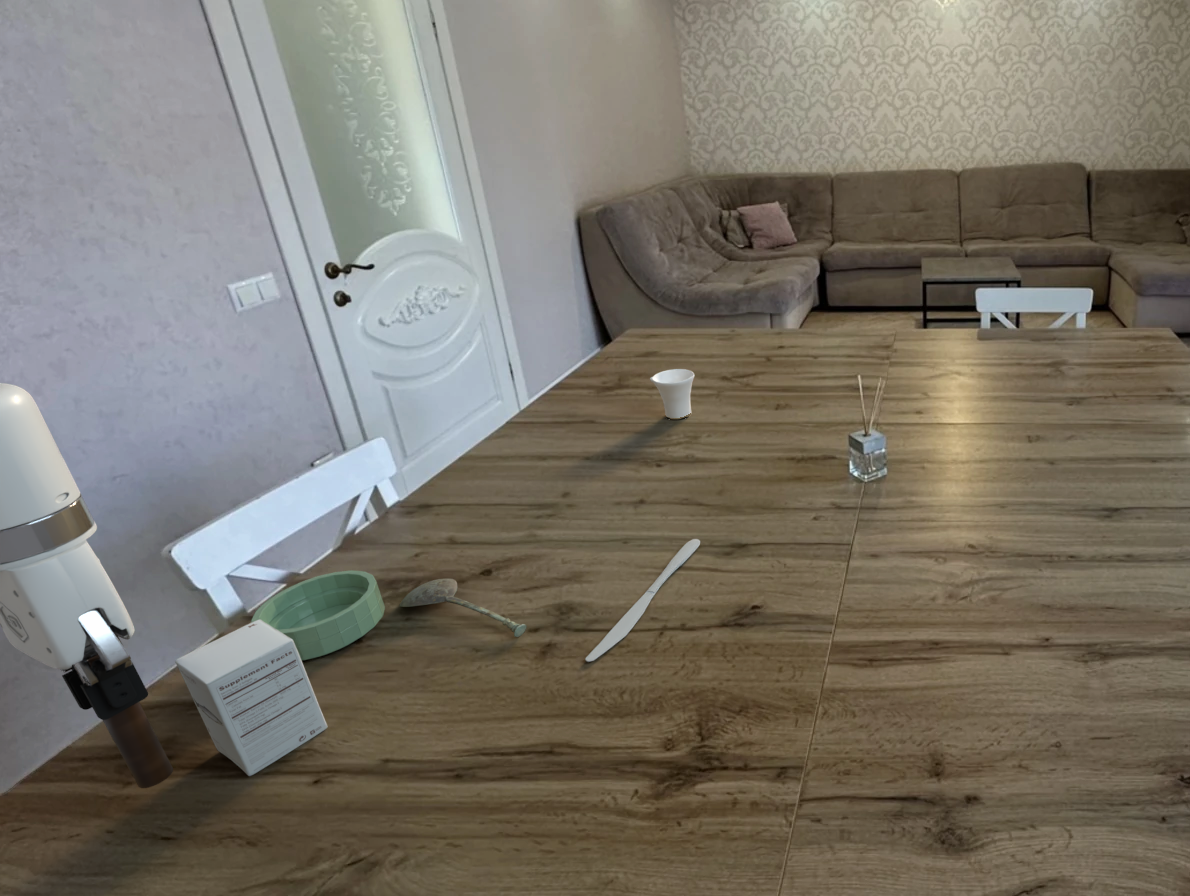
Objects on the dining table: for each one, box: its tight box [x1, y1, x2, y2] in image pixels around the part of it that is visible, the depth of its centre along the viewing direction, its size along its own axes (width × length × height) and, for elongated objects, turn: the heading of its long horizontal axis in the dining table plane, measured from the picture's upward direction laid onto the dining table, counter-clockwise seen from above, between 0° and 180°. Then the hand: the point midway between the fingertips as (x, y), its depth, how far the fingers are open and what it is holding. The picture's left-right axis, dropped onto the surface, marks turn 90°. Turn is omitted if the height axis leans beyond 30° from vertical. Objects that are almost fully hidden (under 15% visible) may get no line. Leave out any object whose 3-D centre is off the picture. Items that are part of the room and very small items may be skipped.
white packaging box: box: [174, 619, 328, 777], centre depth 76 cm, size 7×7×13 cm
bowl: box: [250, 569, 386, 661], centre depth 94 cm, size 13×13×5 cm
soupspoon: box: [399, 578, 528, 638], centre depth 97 cm, size 22×3×7 cm
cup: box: [649, 368, 695, 418], centre depth 158 cm, size 9×9×10 cm
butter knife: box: [585, 538, 701, 663], centre depth 101 cm, size 1×27×3 cm
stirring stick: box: [73, 655, 174, 789], centre depth 66 cm, size 2×2×15 cm
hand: (115, 701), depth 65 cm, fingers closed on stirring stick, 2 cm apart
